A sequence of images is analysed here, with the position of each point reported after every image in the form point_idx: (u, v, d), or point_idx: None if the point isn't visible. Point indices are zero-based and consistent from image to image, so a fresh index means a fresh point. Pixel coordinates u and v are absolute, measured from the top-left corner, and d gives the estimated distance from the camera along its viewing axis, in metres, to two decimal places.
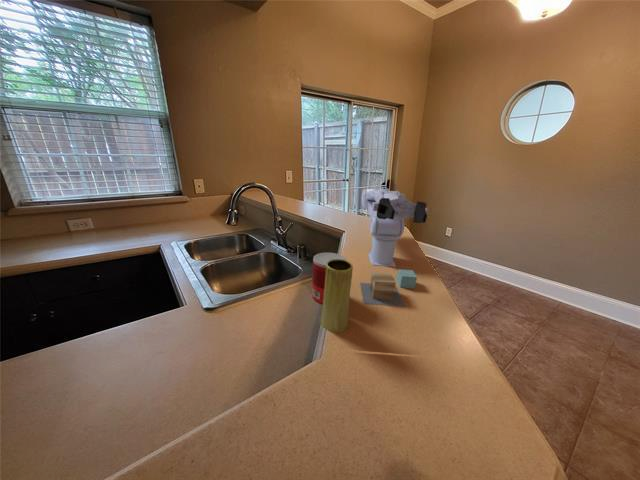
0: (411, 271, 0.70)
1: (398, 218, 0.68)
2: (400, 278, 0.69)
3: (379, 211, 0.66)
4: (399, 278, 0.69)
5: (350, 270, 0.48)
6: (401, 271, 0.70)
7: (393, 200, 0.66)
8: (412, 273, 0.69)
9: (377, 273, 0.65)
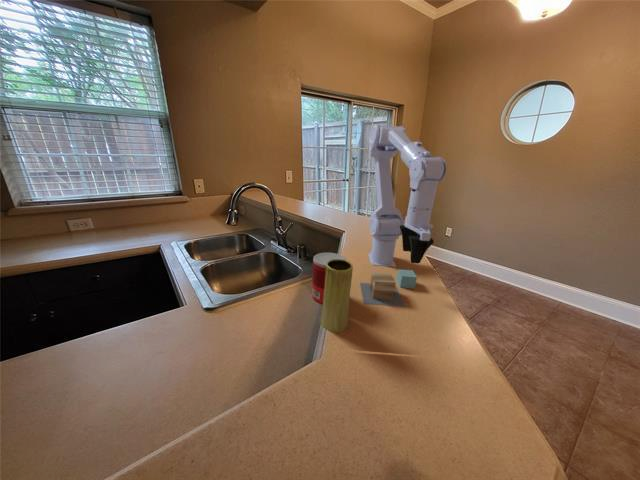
0: (411, 271, 0.70)
1: None
2: (400, 278, 0.69)
3: (418, 241, 0.60)
4: (399, 278, 0.69)
5: (350, 270, 0.48)
6: (401, 271, 0.70)
7: None
8: (412, 273, 0.69)
9: (377, 273, 0.65)
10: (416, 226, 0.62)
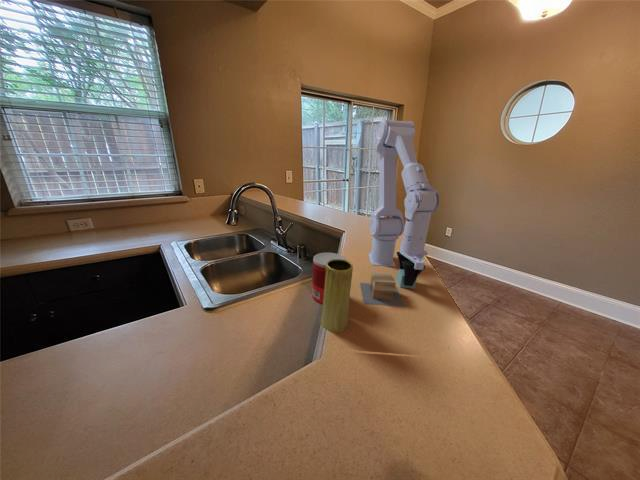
0: None
1: None
2: (400, 278, 0.69)
3: (411, 266, 0.64)
4: (400, 278, 0.69)
5: (350, 270, 0.48)
6: (401, 271, 0.70)
7: None
8: None
9: (377, 273, 0.65)
10: (411, 254, 0.64)
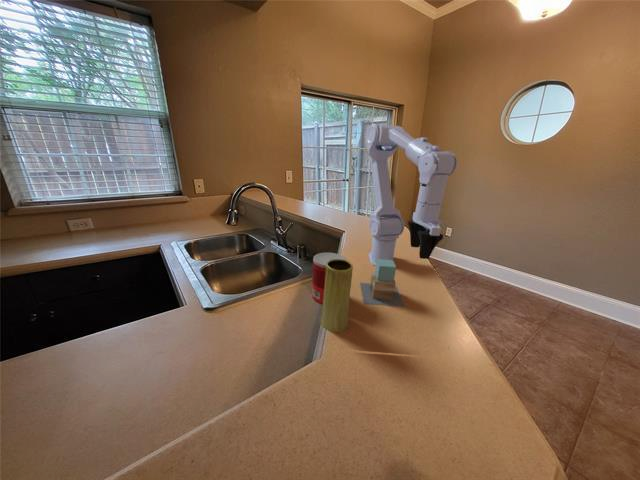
0: (391, 261, 0.63)
1: None
2: (378, 268, 0.61)
3: (428, 236, 0.59)
4: (377, 268, 0.62)
5: (350, 270, 0.48)
6: (379, 261, 0.63)
7: None
8: (391, 263, 0.62)
9: None
10: (425, 221, 0.61)
